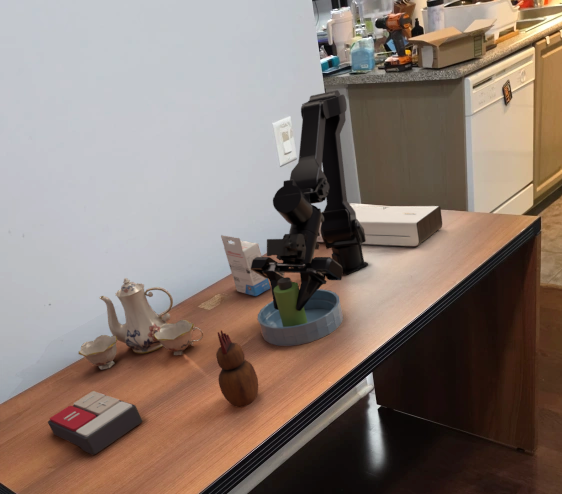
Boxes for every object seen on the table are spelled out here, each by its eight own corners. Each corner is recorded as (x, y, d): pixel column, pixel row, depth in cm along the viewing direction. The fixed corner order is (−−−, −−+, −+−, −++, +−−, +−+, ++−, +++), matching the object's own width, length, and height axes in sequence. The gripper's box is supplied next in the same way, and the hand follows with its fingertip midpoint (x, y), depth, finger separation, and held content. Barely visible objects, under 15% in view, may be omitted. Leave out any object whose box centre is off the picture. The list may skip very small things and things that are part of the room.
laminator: (443, 229, 163) (440, 205, 160) (418, 249, 156) (414, 224, 153) (336, 226, 186) (331, 205, 182) (310, 244, 179) (305, 222, 175)
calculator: (93, 388, 127) (134, 401, 116) (102, 406, 129) (143, 421, 118) (44, 418, 121) (83, 435, 110) (54, 437, 123) (93, 455, 112)
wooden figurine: (247, 414, 112) (222, 338, 104) (221, 410, 115) (195, 336, 108) (268, 392, 116) (245, 318, 109) (242, 389, 120) (219, 316, 112)
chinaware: (82, 387, 140) (48, 323, 130) (96, 345, 153) (66, 284, 144) (207, 359, 137) (182, 291, 127) (210, 319, 151) (187, 254, 141)
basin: (315, 301, 145) (311, 282, 143) (360, 321, 131) (356, 301, 129) (249, 332, 140) (243, 313, 138) (288, 357, 126) (282, 336, 124)
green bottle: (301, 325, 135) (288, 272, 129) (314, 332, 131) (301, 277, 125) (281, 335, 133) (267, 282, 127) (293, 342, 129) (279, 287, 123)
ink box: (271, 288, 158) (256, 230, 150) (256, 297, 156) (239, 238, 148) (251, 283, 164) (235, 227, 157) (235, 291, 162) (219, 235, 155)
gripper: (243, 219, 129) (225, 295, 127) (322, 216, 118) (304, 298, 116) (274, 241, 138) (258, 312, 136) (351, 239, 127) (335, 316, 125)
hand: (286, 309), depth 128 cm, fingers closed on green bottle, 5 cm apart
